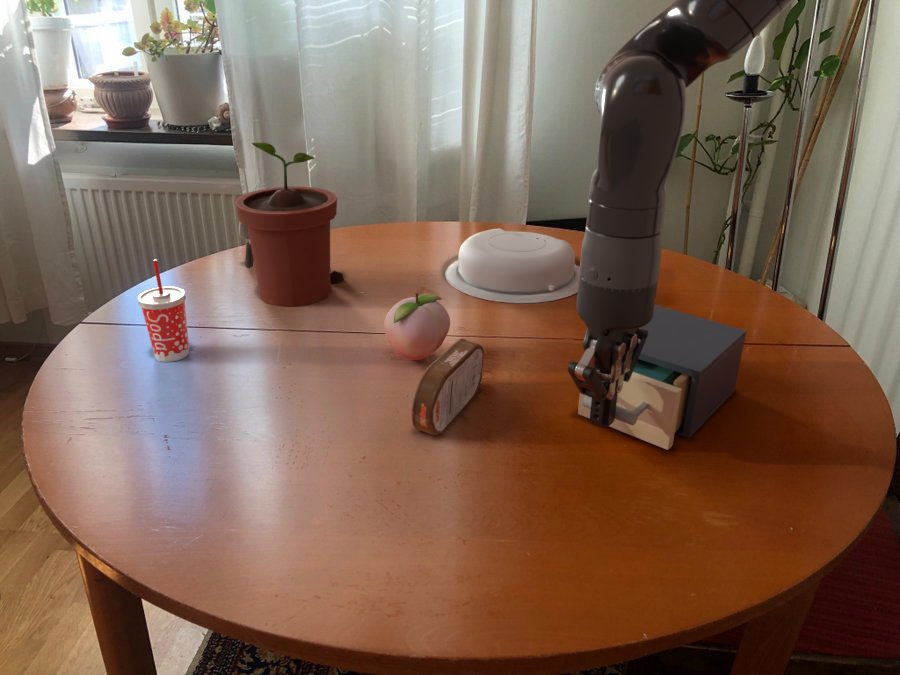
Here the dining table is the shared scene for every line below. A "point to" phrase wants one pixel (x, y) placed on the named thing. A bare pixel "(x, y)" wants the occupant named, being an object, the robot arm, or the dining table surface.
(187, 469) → the dining table surface
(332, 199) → the potted plant
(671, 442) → the drawer
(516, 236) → the round ceiling alarm
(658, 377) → the block
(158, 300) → the beverage cup
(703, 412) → the cabinet
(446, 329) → the decorative fruit
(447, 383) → the tin
